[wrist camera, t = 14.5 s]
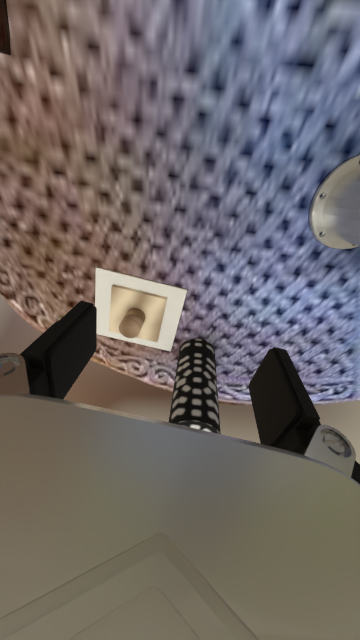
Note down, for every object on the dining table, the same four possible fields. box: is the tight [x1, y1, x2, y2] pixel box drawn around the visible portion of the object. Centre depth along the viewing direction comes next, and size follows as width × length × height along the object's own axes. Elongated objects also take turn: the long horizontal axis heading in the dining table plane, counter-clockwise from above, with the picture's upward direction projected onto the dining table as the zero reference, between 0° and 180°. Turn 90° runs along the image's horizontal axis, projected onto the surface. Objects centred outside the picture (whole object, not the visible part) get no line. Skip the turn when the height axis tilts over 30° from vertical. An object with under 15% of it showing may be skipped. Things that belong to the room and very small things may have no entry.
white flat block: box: [95, 267, 187, 351], centre depth 46 cm, size 18×16×1 cm
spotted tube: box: [169, 339, 220, 434], centre depth 42 cm, size 8×8×20 cm
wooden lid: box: [109, 284, 167, 342], centre depth 43 cm, size 11×11×6 cm
